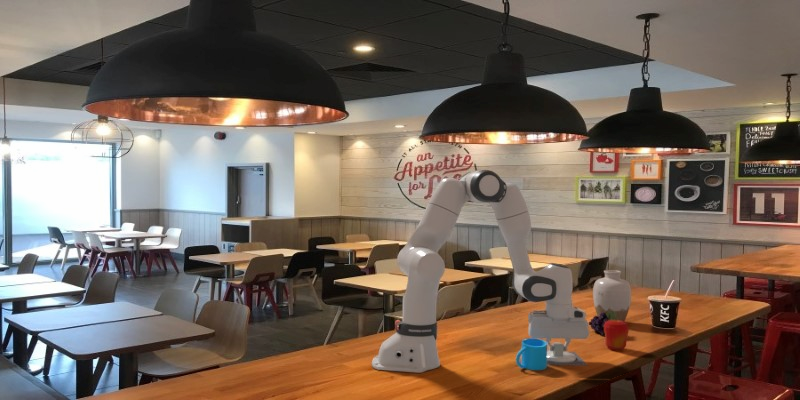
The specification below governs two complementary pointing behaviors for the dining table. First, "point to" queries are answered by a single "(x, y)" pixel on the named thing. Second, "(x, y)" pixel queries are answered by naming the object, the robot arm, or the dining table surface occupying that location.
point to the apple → (616, 334)
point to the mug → (533, 354)
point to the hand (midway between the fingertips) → (557, 351)
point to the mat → (576, 362)
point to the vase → (612, 295)
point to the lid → (560, 354)
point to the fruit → (602, 321)
